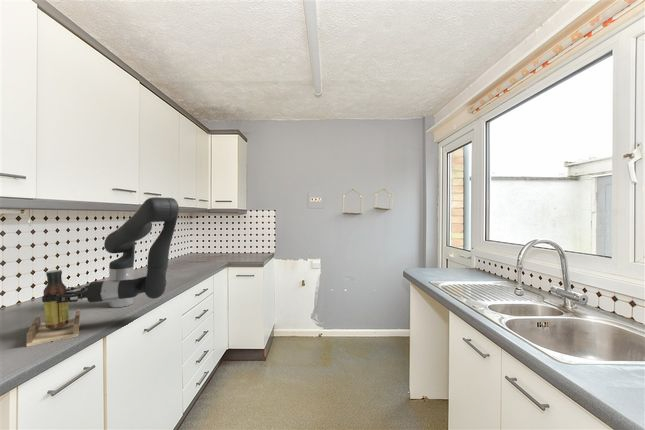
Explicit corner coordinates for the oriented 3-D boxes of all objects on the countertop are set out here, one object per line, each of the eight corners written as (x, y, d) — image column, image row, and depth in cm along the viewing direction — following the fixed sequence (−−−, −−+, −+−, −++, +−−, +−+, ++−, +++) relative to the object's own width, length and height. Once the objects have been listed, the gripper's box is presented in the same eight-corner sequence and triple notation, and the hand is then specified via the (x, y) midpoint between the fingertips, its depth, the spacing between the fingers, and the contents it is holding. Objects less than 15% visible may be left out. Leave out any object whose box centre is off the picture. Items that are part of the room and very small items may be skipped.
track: (36, 326, 106) (36, 316, 106) (80, 319, 114) (80, 309, 114) (26, 346, 90) (26, 334, 90) (78, 336, 98) (78, 324, 98)
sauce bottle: (67, 321, 106) (66, 268, 106) (70, 325, 102) (69, 270, 102) (42, 326, 101) (41, 270, 100) (45, 331, 97) (44, 273, 96)
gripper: (110, 276, 113) (56, 281, 107) (99, 285, 100) (36, 290, 93) (110, 295, 113) (56, 301, 107) (99, 306, 100) (36, 313, 93)
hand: (47, 296), depth 100 cm, fingers closed on sauce bottle, 6 cm apart
